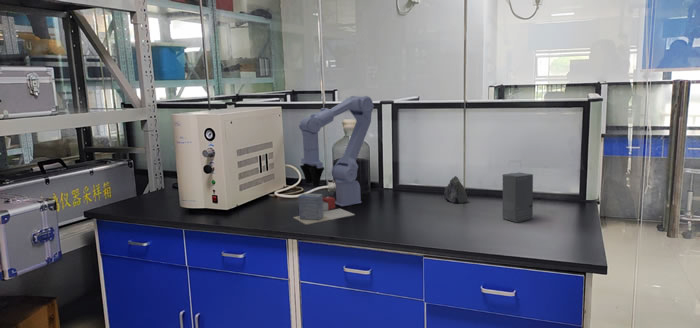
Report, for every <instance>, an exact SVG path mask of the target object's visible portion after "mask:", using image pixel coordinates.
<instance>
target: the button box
mask: <svg viewBox="0 0 700 328" xmlns="http://www.w3.org/2000/svg"><path fill="white" fill-rule="evenodd" d="M324 211H329V210H328V203H326V202H324V201H323V212H324Z"/></svg>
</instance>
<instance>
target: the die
mask: <svg viewBox="0 0 700 328" xmlns="http://www.w3.org/2000/svg"><path fill="white" fill-rule="evenodd" d="M335 198H336V197H333V196H325V197H324V196H323V201H324V202H326V203H328V211H329V210H334V209H336V204H335V201H336V199H335Z"/></svg>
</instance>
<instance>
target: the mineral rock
mask: <svg viewBox="0 0 700 328" xmlns="http://www.w3.org/2000/svg"><path fill="white" fill-rule="evenodd" d="M443 193H444V194H443V195H444V197H445V199H446V200H448V201H449V202H451V203H453V204H463V203H467V201H468V195H467V194H468V193H467V191H466V189H465V187H464V185H463V184H462V183H461V180H460V179H459V177H458V176H457V175H456V176H454V177H452V178H451V179H450V181H449V183H448V184H447V185H446V187H445V188H444V192H443Z"/></svg>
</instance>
